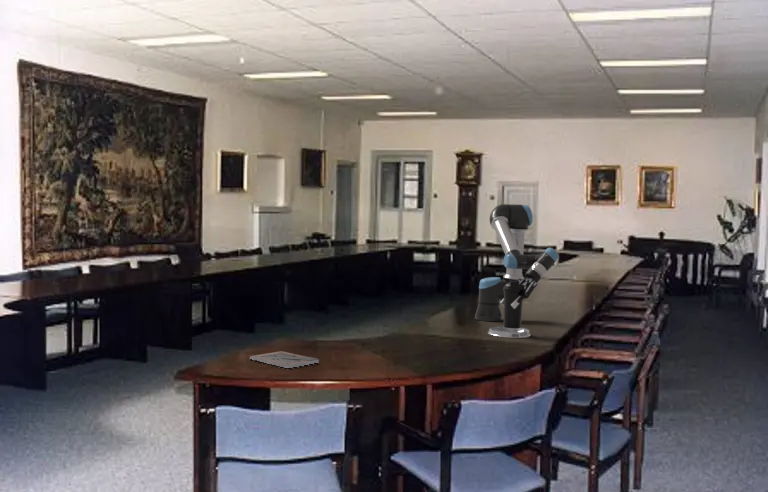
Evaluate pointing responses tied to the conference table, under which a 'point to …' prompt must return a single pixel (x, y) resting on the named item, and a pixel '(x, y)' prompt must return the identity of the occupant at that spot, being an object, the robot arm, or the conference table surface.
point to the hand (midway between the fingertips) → (507, 305)
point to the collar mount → (509, 332)
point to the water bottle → (510, 295)
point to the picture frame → (285, 359)
